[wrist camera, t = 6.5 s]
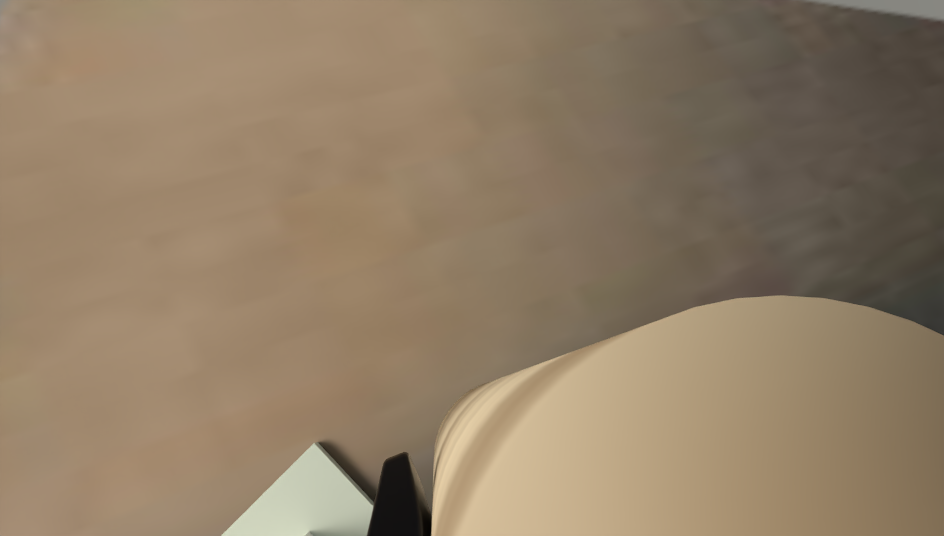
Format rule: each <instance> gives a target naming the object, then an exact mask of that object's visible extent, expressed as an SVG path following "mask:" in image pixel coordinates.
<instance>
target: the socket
mask: <svg viewBox="0 0 944 536" xmlns="http://www.w3.org/2000/svg"><path fill="white" fill-rule="evenodd" d="M373 506H374V502H373V501H372V500H371V499H370V498H369V497H368V496H367V495H366V493H365V492H364V491H363V490H362V489H361V488H360V487H359V486H358V485H357V484H356V483H355V482H354V481H353V480H352V478H351V477H350V476H349V475H348V474H347V473H346V472H345V471H344V470H343V469H342V468H341V467H340V466H339V465H338V463H337V462H336V461H335V460H334V459H333V458H332V457H331V456H330V455H329V454H328V453H327V452H326V451H325V450H324V449H323V447H322V446H321V445H320V444H319V443H318V442H316V443H314V444H313V445H312V446H311V447H310V448H309V449H308V450H307V451H306V452H305V453H304V454H303V455H302V456H301V457H300V458H299V459H298V460H297V461H296V462H295V463H294V464H293V465H292V466H291V467H290V468H289V469H288V470H287V471H286V472H285V473H284V474H283V475H282V476H281V477H280V478H279V479H278V480H277V481H276V482H275V483H274V484H273V485H272V486H271V487H270V488H269V489H268V490H267V491H266V492H265V493H264V494H263V495H262V496H261V497H260V498H259V499H258V500H257V501H256V502H255V503H254V504H253V505H252V506H251V507H250V508H249V509H248V510H247V511H246V512H245V513H244V514H243V515H242V516H241V517H240V518H239V519H238V520H237V521H236V522H235V523H234V524H233V525H232V526H231V527H230V528H229V529H228V530H227V531H226V532H225V533H224V534H223V535H222V536H367V532H368V528H369V524H370V519H371V515H372V511H373Z"/></svg>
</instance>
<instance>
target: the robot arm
mask: <svg viewBox="0 0 944 536" xmlns="http://www.w3.org/2000/svg"><path fill="white" fill-rule="evenodd" d="M431 532H432V516H431V513H430V509H429V506H428V503H427V500H426V496H425V493H424V490H423V487H422V484H421V481H420V479H419V477H418V474H417V472H416V470H415V467H414V465H413V463H412V460H411V458H410V456H409V454H408V453H407V452H403V453H400V454H398V455H395V456H393V457H390V458H388V459H386V460H385V462H384V464H383V467H382V471H381V476H380V480H379V484H378V489H377V493H376V497H375V502H374V506H373V511H372V515H371V519H370V524H369V528H368V532H367V536H431Z"/></svg>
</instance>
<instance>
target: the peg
mask: <svg viewBox="0 0 944 536" xmlns="http://www.w3.org/2000/svg"><path fill="white" fill-rule="evenodd" d="M431 536H944V336H943V335H941V334H939V333H937V332H934V331H932V330H930V329H928V328H926V327H924V326H921V325H919V324H917V323H915V322H913V321H910V320H907V319H904V318H901V317H898V316H895V315H891V314H888V313H885V312H882V311H879V310H876V309H873V308H870V307H866V306H861V305H856V304H851V303H846V302H840V301H835V300H830V299H825V298H812V297H796V296H780V295H779V296H765V297H751V298H737V299H732V300H727V301H722V302H718V303H713V304H708V305H704V306H699V307H694V308H691V309H688V310H686V311H683V312H680V313H677V314H675V315H672V316H669V317H666V318H664V319H661V320H658V321H655V322H653V323H650V324H647V325H645V326H642V327H639V328H636V329H634V330H631V331H628V332H625V333H623V334H620V335H617V336H614V337H612V338H609V339H606V340H603V341H601V342H598V343H595V344H592V345H590V346H587V347H584V348H581V349H579V350H576V351H573V352H571V353H568V354H565V355H562V356H560V357H557V358H554V359H551V360H549V361H546V362H543V363H540V364H538V365H535V366H532V367H529V368H527V369H524V370H521V371H518V372H516V373H513V374H510V375H507V376H505V377H502V378H499V379H497V380H494V381H491V382H488V383H486V384H483V385H480V386H478V387H476V388H474V389H472V390H470V391H469V392H467V393H466V394H465V395H463V396H462V397H461V398H460V399H459V400H458V401H457V402H456V403H455V404H454V405H453V406H452V407H451V409H450V410H449V411H448V413H447V414H446V416H445V418H444V419H443V422H442V424H441V426H440V428H439V431H438V434H437V438H436V443H435V450H434V473H433V503H432V532H431Z"/></svg>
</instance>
